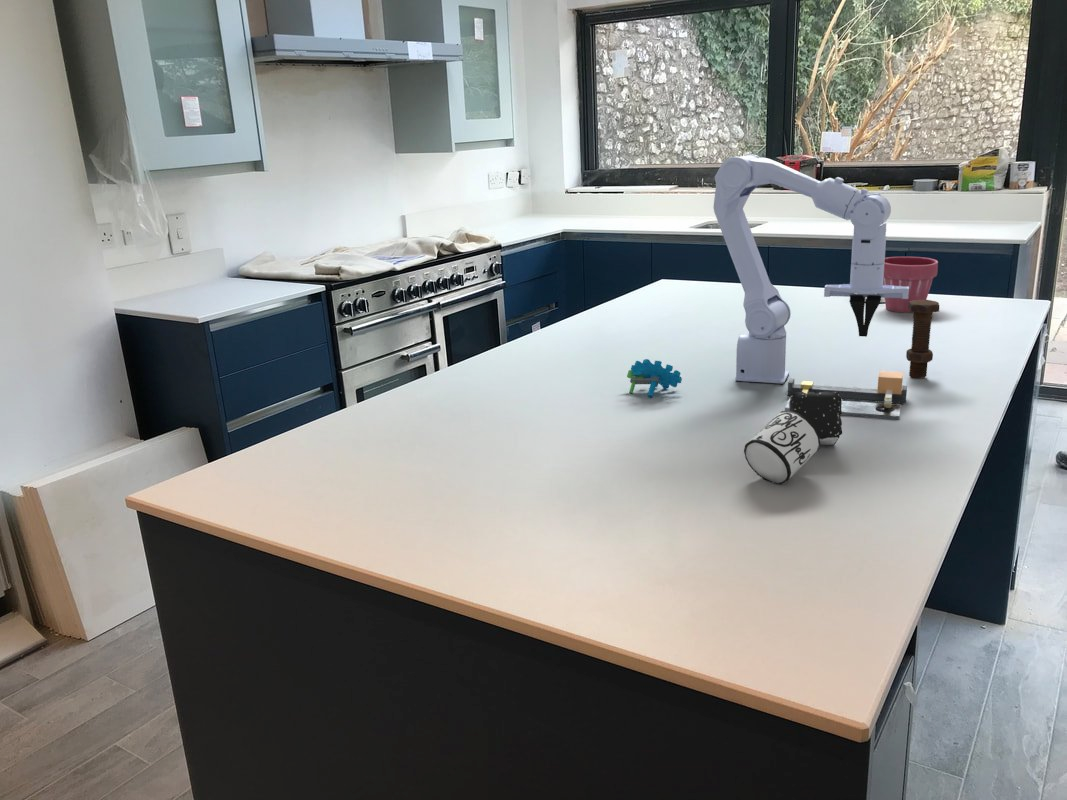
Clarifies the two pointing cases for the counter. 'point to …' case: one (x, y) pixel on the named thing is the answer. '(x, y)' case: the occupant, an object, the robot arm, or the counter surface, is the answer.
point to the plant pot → (909, 279)
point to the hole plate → (866, 410)
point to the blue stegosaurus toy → (653, 375)
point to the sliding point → (889, 385)
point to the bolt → (921, 337)
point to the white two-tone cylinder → (795, 435)
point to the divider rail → (846, 392)
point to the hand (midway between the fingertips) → (863, 335)
